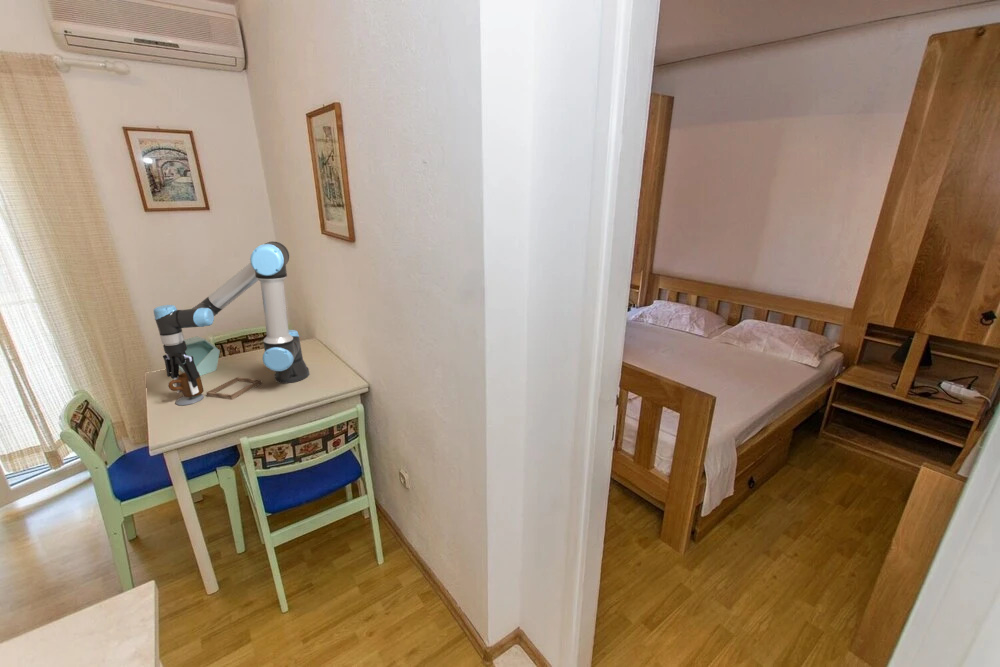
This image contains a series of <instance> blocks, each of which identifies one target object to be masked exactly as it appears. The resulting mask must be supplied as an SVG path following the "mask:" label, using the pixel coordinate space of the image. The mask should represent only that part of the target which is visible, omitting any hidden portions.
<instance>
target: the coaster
mask: <svg viewBox="0 0 1000 667" xmlns="http://www.w3.org/2000/svg"><path fill="white" fill-rule="evenodd" d="M203 399H204V394H203V393H202V394H200V395H198V396H195V397H184V396H183V395H182V396H181V397H179V398H178V399H176V401H175V405H177V406H181V407H183V406H190V405H193V404H196V403H199V402H201V401H202V400H203Z"/></svg>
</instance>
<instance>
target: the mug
mask: <svg viewBox="0 0 1000 667" xmlns="http://www.w3.org/2000/svg"><path fill="white" fill-rule="evenodd" d="M198 373H199V372H198ZM199 376H200V375H199ZM178 378H179V379H178V380H177V379H176V380H173V379H172V380H170V381H169V382H168V384H167V388H168V389H169V390H170V391H173V392H177V391H178V390H180V391H182V392H181V393H182V397H183V396H184V397H195V396H198V395H200V394H203V392H204V391H205V390H204V387H203V382H202V381H203V380H202V378H201V376H200V377H199V378H197V379H196V381H197V385H198V386H197V387H198V390H199V392H198V393H196V394H194V395H192V393H191V390H190V386H189V383H188V380H189V378H188V377H187V375H186V373H183V372H182V373H179V376H178ZM174 383H180V386H177V387H175V384H174ZM173 385H174V386H173Z"/></svg>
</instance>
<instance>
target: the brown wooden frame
mask: <svg viewBox="0 0 1000 667" xmlns="http://www.w3.org/2000/svg"><path fill="white" fill-rule="evenodd" d="M238 382H239V383H240V382H241V383H249V385H247V386H244V387H243V388H241V389H240V390H238V391H236V392H234V393H232V394H229V393H228V394H227V393H222V392H221V393H220V391H222V390H224V389H226V388H229V387H231V386H232V385H233V384H236V383H238ZM261 384H262V379H257V378H250V377H248V378H247V377H240V376H237V377H235V378H232V379H231V380H229V381H226V382H225V383H222V384H221V385H218V386H216V387H214V388H213V389H210V390H208V391H206V392H205V393H206V397H208V398H209V397H211V398H218V399H224V400H225V399H226V400H235V399H236V398H238V397H239V396H241V395H243V394H245V393H247V392H248V391H250V390H252V389H254V388H255V387H258V386H259V385H261Z"/></svg>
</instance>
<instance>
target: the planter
mask: <svg viewBox="0 0 1000 667" xmlns="http://www.w3.org/2000/svg"><path fill="white" fill-rule="evenodd" d="M184 341H185V343H186V346H187V350H186V351H185V353H186V354H187V356H189V357H190V356H193V359H194V363H195V366H196V368H197V371H198V372H199V375H200V377H201V376H203V375H207V374H210V373H213V372H215V371H217V368H218V363H219V358H220V353H221V350H220V349H219V348H217V347H216V346H215V345H214V344H212V343H211V342H210V341H208V340H207V339H206V338H204V337H200V336H197V335H196V336H193V337H192V336H191V337H190V338H189V337H188V338H186V339H185V338H184ZM185 363H186V362H185ZM185 363H183V364H185ZM179 372H182V373H185V372H184V370H183V368H182V367H180V366H179Z"/></svg>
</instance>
